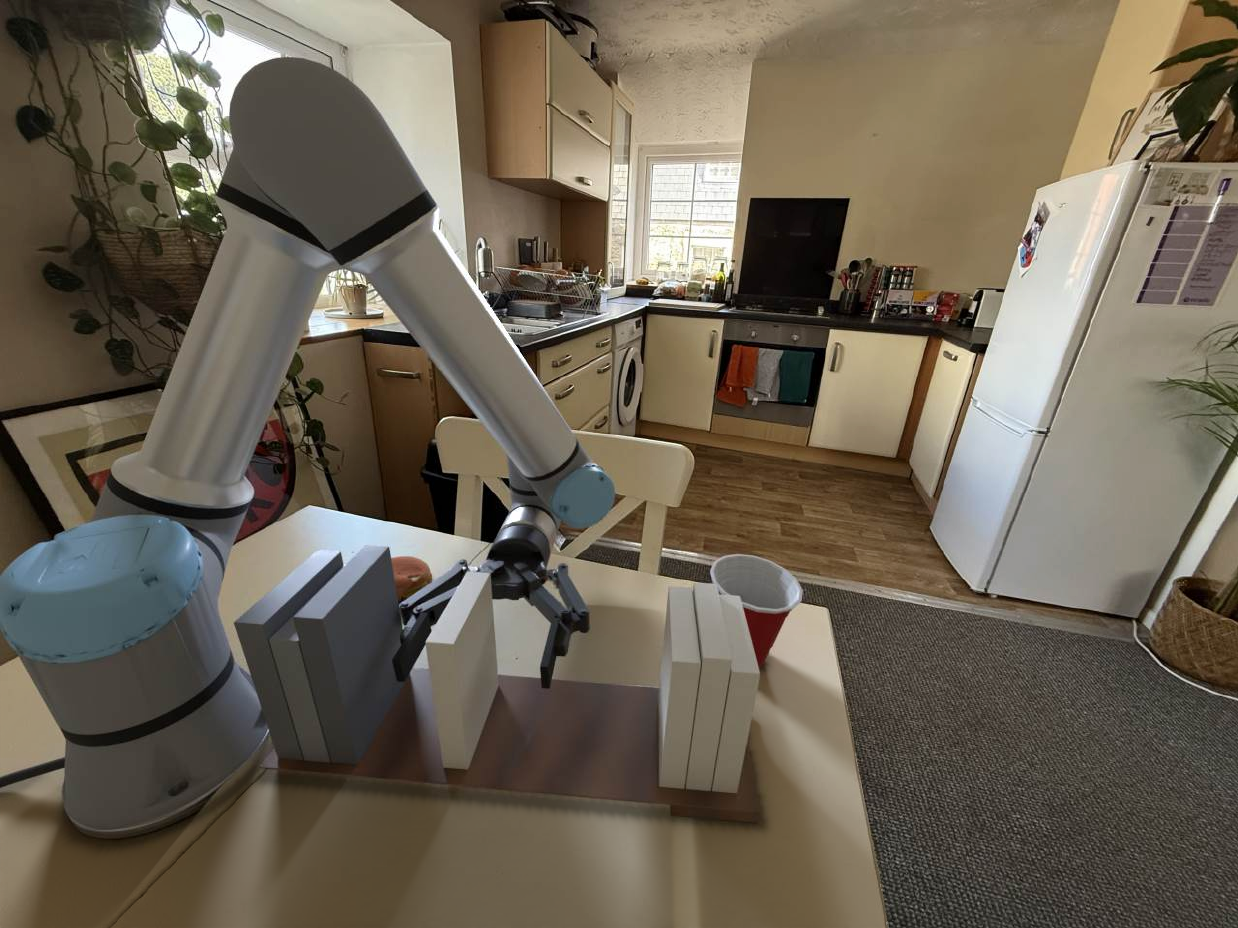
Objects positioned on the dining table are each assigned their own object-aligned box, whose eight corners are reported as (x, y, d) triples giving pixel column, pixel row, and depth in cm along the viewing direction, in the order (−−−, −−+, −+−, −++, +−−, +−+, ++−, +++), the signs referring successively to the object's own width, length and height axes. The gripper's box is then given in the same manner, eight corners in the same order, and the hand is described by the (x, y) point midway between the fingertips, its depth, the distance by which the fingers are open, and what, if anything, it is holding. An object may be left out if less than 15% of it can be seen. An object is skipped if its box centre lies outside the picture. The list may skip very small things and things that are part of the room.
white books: (659, 786, 45) (672, 655, 39) (658, 697, 55) (669, 580, 49) (737, 793, 45) (762, 662, 39) (722, 702, 54) (741, 585, 48)
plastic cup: (791, 697, 57) (811, 614, 53) (697, 680, 59) (708, 598, 54) (782, 633, 67) (798, 558, 62) (701, 620, 69) (711, 546, 64)
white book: (442, 767, 46) (424, 642, 41) (477, 683, 56) (467, 571, 50) (468, 769, 46) (453, 644, 40) (498, 684, 55) (490, 572, 50)
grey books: (277, 758, 47) (229, 612, 40) (344, 668, 57) (315, 541, 50) (357, 765, 46) (322, 619, 40) (410, 674, 56) (389, 546, 50)
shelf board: (261, 778, 46) (257, 767, 46) (342, 671, 58) (340, 661, 58) (758, 823, 44) (760, 812, 44) (735, 703, 56) (737, 693, 56)
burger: (385, 572, 76) (381, 546, 75) (444, 577, 76) (441, 551, 74) (347, 614, 67) (341, 586, 65) (413, 621, 67) (409, 592, 65)
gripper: (617, 574, 66) (605, 709, 47) (434, 568, 68) (348, 697, 48) (618, 526, 63) (605, 649, 44) (425, 520, 64) (330, 637, 45)
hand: (470, 675), depth 46 cm, fingers open, 13 cm apart
